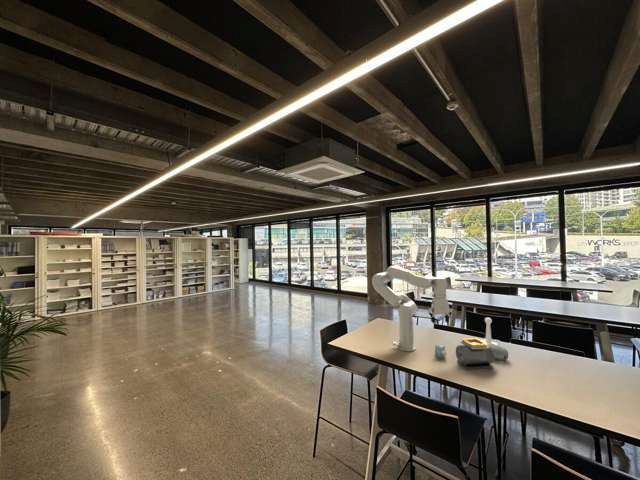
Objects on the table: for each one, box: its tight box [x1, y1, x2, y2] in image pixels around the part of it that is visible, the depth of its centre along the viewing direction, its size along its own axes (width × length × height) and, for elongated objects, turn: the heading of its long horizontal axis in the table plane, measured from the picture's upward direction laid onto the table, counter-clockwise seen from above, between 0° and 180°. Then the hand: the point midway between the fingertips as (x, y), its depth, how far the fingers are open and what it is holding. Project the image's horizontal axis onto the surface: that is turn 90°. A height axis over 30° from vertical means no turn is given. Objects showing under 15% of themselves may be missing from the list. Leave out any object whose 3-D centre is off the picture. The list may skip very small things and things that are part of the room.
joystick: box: [479, 317, 499, 346], centre depth 192 cm, size 11×8×20 cm
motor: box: [455, 337, 495, 371], centre depth 160 cm, size 19×11×14 cm, turn 95°
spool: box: [488, 345, 509, 361], centre depth 170 cm, size 14×10×10 cm
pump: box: [434, 343, 447, 359], centre depth 171 cm, size 6×9×7 cm
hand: (440, 322), depth 174 cm, fingers open, 9 cm apart
